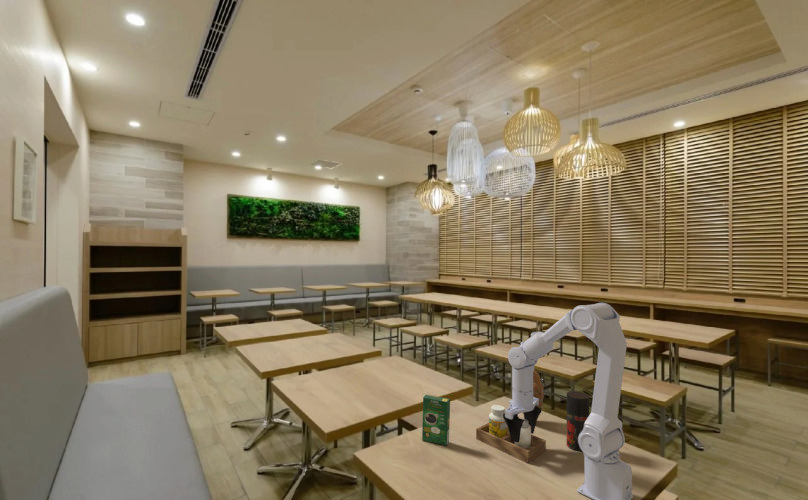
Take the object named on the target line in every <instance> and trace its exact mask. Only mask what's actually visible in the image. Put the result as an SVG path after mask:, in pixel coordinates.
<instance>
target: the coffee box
mask: <svg viewBox="0 0 808 500" xmlns="http://www.w3.org/2000/svg"><path fill="white" fill-rule="evenodd" d="M450 416H451V398H447V397H441V396H437V395H436V396H435V395H431V394H425V395H424V396H423V398H422V430H421V431H422V432H421V433H422V434H421V440H422V441H425V442H428V443H429V442H430V443H434V444H438V445H441V446H448V444H449V443H450V442H449V441H450V418H451V417H450Z"/></svg>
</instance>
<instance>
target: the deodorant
mask: <svg viewBox="0 0 808 500" xmlns="http://www.w3.org/2000/svg"><path fill="white" fill-rule="evenodd" d="M589 415H590V395H589V394H587V393H585V392H583V391H577V390H576V391H575V390H570V391H568V392H566V446H567V448H569V449H570V450H572V451H575V452H577V453H583V451H582V450H581V448H580V446H579V442H578V437H579V434H580V433H581V432H582V430H583V428H584V423H585V421H586V420H587V418H588V417H589Z"/></svg>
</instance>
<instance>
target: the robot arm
mask: <svg viewBox="0 0 808 500" xmlns="http://www.w3.org/2000/svg"><path fill="white" fill-rule="evenodd" d="M620 318H621V317H620V314H619V313H618V312H617V311H616V310H615V308H614V307H612V305H610V304H608V303H605V302H598V303H594V304H593V303H592V304H586V305H583V304H582V305H577V306H575V307H574V308H573V309H571V310H569V311H567V312H566V313H565V314H564V315H563V317H561V318H559V320H557V321H556V322H555V323H554V324H553V325H551V327H549V328H548V329H547V330H546V331H545V332H544V331H543V332H542V331H533V332H532V333H531V334H530V337H529V338H528V339H526V340H523V341H521V342H520V345H519V346H515V347H514V346H513V347H511V348H510V350H508V353H507V360H508V362H509V364H510V366H511V370H512V371H511V398H512V399H510V400H508V404H509V406H508V408H506V409H505V413H504V414H503V418H504V420H505V422H506V424H507V426H508V429H509V432H510V436H511V440H512V441H514V442H517V443H518V442H519V440H520V432H521V427H522V424H523V422H524V420H523V419H526V420H528V424H529V425H530V426H531V435H534V433H535V428H536V426H537V421H538V419H539V417H540V415H541V413H542V407H541V408H539V407H537V406H538V405H539V399H538V398H535V397H533V371H535V366H536V364H537V363H538V360H539V359H541V358H542V357H544V356H546V355H547V354H548V353H550V352H551V351H552V350H553V349H554V343H555V342H557V341H558V340H561V339H562V338H564V337H565V336H567V335H568V334H569V333H571V332H572V331H578V332H579V333H581V334H582V335H584V336H585V337H586V338H588V339H589V340H591V342H592V343H594V344H595V345H596V347H597V348H598V354H597V362H596V370H595V379H594V387H593V395H592V403H591V410H590V412H589V417H588V418H587V420H586V421H585V423H584V428H583V430H582V432H581V433H580V434H579V437H578V442H579V446H580V448H581V450H582V451H583V452H582V453H583V457H584V458H583V459H584V464H583V465H584V466H583V467H584V468H583V470H584V477H583V478H584V483H582V484H581V485H580V486H579V487H578V488H577V490H576V491H577V492H578V493H579V494H582V495H583V496H585V497H588V498H590V499H592V500H631V499H632V500H633V498H634V495H633V469H632V466H631V465H630V464H629V463H626V462H624V461H623V460H621V458H620V449H622V448H623V447H624V446H625V441H626V439H625V435H624V431H623V425H624V424H623V421H621V420H620V419H619V417H618V415H619V408H620V400H621V392H622V385H623V378H624V377H623V376H624V370H625V361H626V356H627V355H626V354H627V340H626V338H625V334H624V332H623V329H622V326H621V324H620V320H621V319H620ZM519 414H523V419H520V418H521V417H519V416H518V415H519Z"/></svg>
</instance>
